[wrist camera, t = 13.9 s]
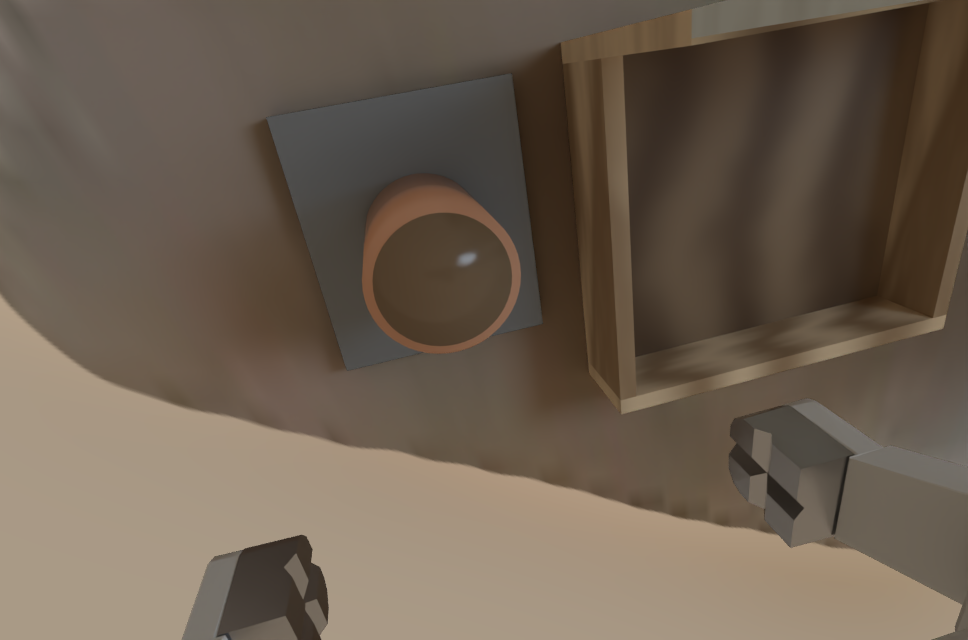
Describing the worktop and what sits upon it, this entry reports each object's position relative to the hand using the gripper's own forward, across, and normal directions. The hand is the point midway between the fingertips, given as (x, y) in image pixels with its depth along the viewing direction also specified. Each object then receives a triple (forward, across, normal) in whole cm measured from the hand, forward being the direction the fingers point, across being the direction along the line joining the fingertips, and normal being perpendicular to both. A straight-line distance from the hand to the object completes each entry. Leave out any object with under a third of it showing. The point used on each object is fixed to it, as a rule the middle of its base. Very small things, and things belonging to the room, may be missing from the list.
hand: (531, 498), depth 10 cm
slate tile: (+22, 0, 0) cm, 22 cm away
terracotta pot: (+20, 0, 0) cm, 21 cm away
